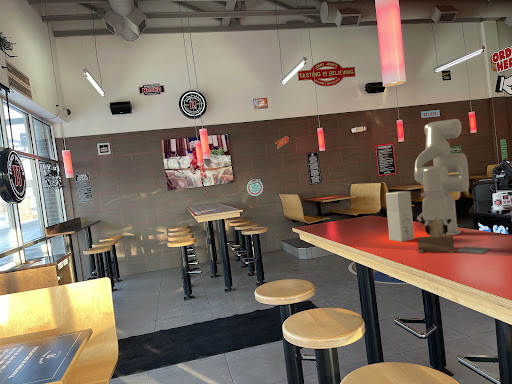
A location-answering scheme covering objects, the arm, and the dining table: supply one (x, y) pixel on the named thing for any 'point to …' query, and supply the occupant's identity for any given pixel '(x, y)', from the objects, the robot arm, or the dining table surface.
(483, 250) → the mat
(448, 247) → the screen
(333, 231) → the dining table surface
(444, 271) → the dining table surface
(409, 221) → the tall white carton
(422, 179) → the robot arm
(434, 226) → the box
